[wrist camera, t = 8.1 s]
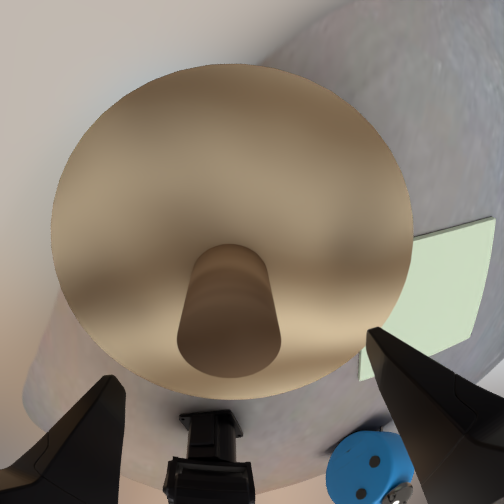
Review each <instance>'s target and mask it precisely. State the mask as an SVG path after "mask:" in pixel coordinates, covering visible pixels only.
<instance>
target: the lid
mask: <svg viewBox="0 0 504 504" xmlns="http://www.w3.org/2000/svg"><path fill="white" fill-rule="evenodd" d="M51 248H52V254H53V260H54V265H55V270H56V274H57V277H58V280H59V283H60V286H61V289H62V291H63V294H64V296H65V298H66V300H67V302H68V304H69V306H70V308H71V310H72V312H73V313H74V315H75V316H76V318H77V320H78V321H79V323H80V324H81V326H82V327H83V328H84V329H85V331H86V332H87V333H88V334H89V336H90V337H91V338H92V339H93V340H94V341H95V342H96V343H97V344H98V345H99V346H100V347H101V348H102V349H103V350H104V351H105V352H106V353H107V354H108V355H109V356H110V357H112V358H113V359H114V360H115V361H117V362H118V363H119V364H121V365H122V366H124V367H125V368H127V369H128V370H130V371H131V372H133V373H135V374H136V375H138V376H140V377H142V378H144V379H146V380H148V381H150V382H152V383H154V384H156V385H159V386H161V387H164V388H167V389H169V390H172V391H176V392H179V393H183V394H187V395H191V396H197V397H202V398H209V399H222V400H243V399H254V398H262V397H268V396H272V395H277V394H282V393H285V392H288V391H291V390H295V389H298V388H300V387H303V386H305V385H308V384H310V383H312V382H315V381H317V380H319V379H321V378H322V377H324V376H326V375H328V374H330V373H331V372H333V371H335V370H336V369H338V368H339V367H340V366H342V365H343V364H345V363H346V362H348V361H349V360H350V359H351V358H353V357H354V356H355V355H356V354H357V353H358V352H359V351H361V350H362V349H363V348H364V347H365V346H366V332H367V330H368V329H371V328H374V327H380V328H381V327H382V326H383V324H384V323H385V322H386V320H387V319H388V317H389V316H390V314H391V312H392V310H393V309H394V307H395V305H396V303H397V301H398V299H399V297H400V294H401V292H402V289H403V287H404V284H405V282H406V278H407V274H408V271H409V267H410V263H411V256H412V248H413V216H412V209H411V204H410V198H409V194H408V190H407V187H406V184H405V181H404V178H403V175H402V172H401V170H400V168H399V166H398V164H397V162H396V160H395V158H394V156H393V154H392V153H391V151H390V149H389V148H388V146H387V145H386V143H385V142H384V140H383V139H382V138H381V136H380V135H379V134H378V132H377V131H376V130H375V128H374V127H373V126H372V125H371V124H370V123H369V122H368V121H367V120H366V119H365V118H364V117H363V116H362V115H361V114H360V113H359V112H358V111H357V110H356V109H355V108H354V107H352V106H351V105H350V104H348V103H347V102H345V101H344V100H343V99H341V98H340V97H339V96H337V95H336V94H334V93H333V92H331V91H330V90H328V89H326V88H324V87H322V86H320V85H318V84H316V83H314V82H312V81H310V80H308V79H306V78H304V77H301V76H298V75H294V74H291V73H288V72H285V71H282V70H278V69H275V68H269V67H263V66H255V65H247V64H215V65H206V66H200V67H195V68H190V69H185V70H180V71H177V72H174V73H171V74H169V75H166V76H163V77H161V78H158V79H155V80H153V81H150V82H148V83H147V84H145V85H143V86H141V87H140V88H138V89H136V90H134V91H132V92H131V93H129V94H127V95H126V96H124V97H123V98H121V99H120V100H119V101H118V102H116V103H115V104H114V105H113V106H112V107H110V108H109V109H108V110H107V111H105V112H104V113H103V114H102V115H101V116H100V117H99V118H98V119H97V120H96V122H95V123H94V124H93V125H92V126H91V127H90V128H89V129H88V130H87V132H86V133H85V134H84V135H83V137H82V138H81V140H80V141H79V143H78V144H77V146H76V147H75V149H74V151H73V152H72V154H71V156H70V157H69V160H68V162H67V164H66V166H65V168H64V171H63V173H62V175H61V178H60V180H59V184H58V187H57V191H56V195H55V199H54V203H53V210H52V219H51Z"/></svg>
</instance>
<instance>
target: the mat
mask: <svg viewBox="0 0 504 504" xmlns="http://www.w3.org/2000/svg"><path fill="white" fill-rule="evenodd" d="M495 221H496V219H495V218H493V217H489V218H485V219H482V220H478V221H474V222H471V223H467V224H463V225H460V226H456V227H452V228H448V229H444V230H441V231H437V232H433V233H429V234H425V235H421V236H417V237H413V248H412V256H411V263H410V267H409V271H408V274H407V278H406V282H405V284H404V287H403V289H402V292H401V294H400V297H399V299H398V301H397V303H396V305H395V307H394V309H393V310H392V312H391V314H390V316H389V317H388V319H387V320H386V322H385V323H384V324H383V326H382V327H381V328H382V329H384V330H385V331H387V332H389V333H390V334H392V335H394V336H395V337H397V338H399V339H400V340H402V341H403V342H405V343H407V344H408V345H410V346H412V347H413V348H415V349H417V350H418V351H420V352H422V353H423V354H425V355H427V356H428V357H429V356H431V355H433V354H436V353H438V352H440V351H442V350H445V349H447V348H449V347H451V346H453V345H455V344H458V343H460V342H462V341H464V340H466V339H468V338H470V335H471V332H472V329H473V326H474V323H475V319H476V316H477V313H478V309H479V305H480V302H481V298H482V294H483V290H484V286H485V281H486V277H487V272H488V267H489V262H490V256H491V250H492V244H493V237H494V230H495ZM372 377H375V376H374V373H373V370H372V367H371V364H370V361H369V358H368V355H367V352H366V346H365V347H364V348H363V349H362V350H361V351H359V369H358V379H359V381H363V380H366V379H369V378H372Z"/></svg>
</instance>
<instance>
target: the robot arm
mask: <svg viewBox="0 0 504 504" xmlns="http://www.w3.org/2000/svg"><path fill="white" fill-rule="evenodd" d="M366 352H367V355H368V358H369V361H370V364H371V367H372V370H373V373H374V376H375V379H376V382H377V385H378V387H379V390H380V392H381V395H382V397H383V399H384V401H385V403H386V405H387V408H388V410H389V412H390V414H391V416H392V418H393V421H394V423H395V425H396V427H397V430H398V432H399V434H400V436H401V439H402V441H403V443H404V446H405V448H406V450H407V452H408V455H409V457H410V460H411V462H412V464H413V467H414V469H415V472H416V474H417V477H418V479H419V481H420V484H421V487H422V489H423V492H424V495H425V497H426V500H427V502H428V504H504V398H503V397H500V396H498V395H496V394H494V393H492V392H489V391H487V390H485V389H483V388H481V387H479V386H477V385H475V384H473V383H472V382H470V381H468V380H466V379H465V378H463V377H461V376H460V375H458V374H455V373H454V372H453V371H451V370H450V369H448V368H446V367H445V366H443V365H441V364H440V363H438V362H436V361H435V360H433V359H431V358H430V357H428V356H427V355H425V354H423V353H422V352H420V351H418V350H417V349H415V348H413V347H412V346H410V345H408V344H407V343H405V342H403V341H402V340H400V339H399V338H397V337H395V336H394V335H392V334H390V333H389V332H387V331H385V330H384V329H382V328H380V327H374V328H371V329H368V330H367V332H366ZM125 401H126V392H125V389H124V387H123V386H122V385H121V383H120V382H119V381H118V379H117V378H116V377H115V376H114V375H104V376H103V377H102V378H101V379H100V380H99V381H98V382H97V383H96V384H95V385H94V386H93V387H92V388H91V389H90V390H89V391H88V392H87V393H86V394H85V395H84V396H83V397H82V398H81V399H80V400H79V401H78V402H77V403H76V404H75V405H74V406H73V407H72V408H71V409H70V410H69V411H68V412H67V413H66V414H65V415H64V416H63V417H62V418H61V419H60V420H59V421H58V422H57V423H56V424H55V425H54V426H53V427H52V428H51V429H50V430H49V432H47V433H46V434H45V435H44V436H43V437H42V438H41V439H40V440H39V441H38V442H37V443H36V444H35V445H34V446H33V447H32V448H31V449H29V451H27V452H26V453H25V454H24V455H23V456H21V457H20V458H19V459H18V460H17V461H16V462H15V463H13V464H12V465H11V466H9V467H7V468H5V469H0V504H118V491H119V478H120V466H121V455H122V446H123V437H124V428H125ZM179 420H180V421H181V422H182V424H183V425H184V426H185V427H186V429H187V430H188V431H189V433H188V444H187V456H186V459H184V458H178V457H174V456H173V460H172V461H168V468H167V474H166V478H165V482H164V486H163V492H164V493H165V494H166V495H167V499H168V502H169V504H255V487H254V481H253V474H252V468H251V462H245V463H240V462H236V438H239V437H243V432H242V430H241V428H240V426H239V425H238V423H237V421H236V419H235V417H234V415H233V414H232V412H231V411H218V412H209V413H198V414H185V415H180V416H179Z"/></svg>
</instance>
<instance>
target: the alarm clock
mask: <svg viewBox="0 0 504 504" xmlns="http://www.w3.org/2000/svg"><path fill="white" fill-rule="evenodd" d="M413 474H414V467H413V464H412V462H411V460H410V457H409V455H408V452H407V450H406V448H405V446H404V443H403V441H402V439H401V436H400V435H398V434H396V433H392V432H383V428H382V427H380V431H359V432H356V433H353V434H351V435H349V436H348V437H346V438H345V439H344V440H343V441H342V442H341V443H340V444H339V445H338V446H337V447H336V449H335V450H334V452H333V453H332V455H331V457H330V460H329V462H328V466H327V470H326V487H327V490H328V494H329V496H330V498H331V499H332V501H333V502H334V503H335V504H406V503H407V501H408V500H409V499H410V498H411V496H412V493H413V486H412V485H411V484H410V482H411V480H412V477H413Z"/></svg>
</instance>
